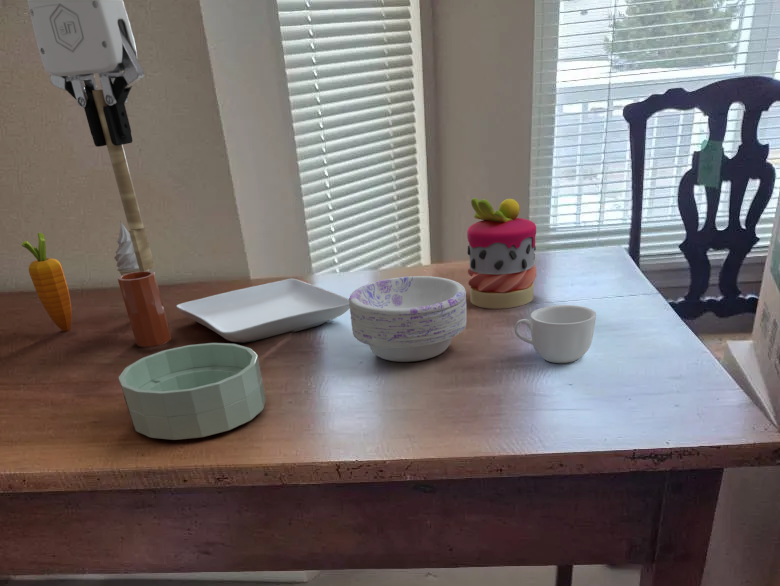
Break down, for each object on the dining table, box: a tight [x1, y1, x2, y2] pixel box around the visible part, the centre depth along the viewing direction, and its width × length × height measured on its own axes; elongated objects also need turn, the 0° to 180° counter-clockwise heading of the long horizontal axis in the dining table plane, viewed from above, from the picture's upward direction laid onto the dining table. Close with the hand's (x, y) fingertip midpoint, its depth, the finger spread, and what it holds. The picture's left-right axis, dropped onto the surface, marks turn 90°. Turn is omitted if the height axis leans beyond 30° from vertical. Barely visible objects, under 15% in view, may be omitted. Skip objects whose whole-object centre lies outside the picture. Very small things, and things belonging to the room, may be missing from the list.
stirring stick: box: [92, 88, 155, 272], centre depth 89 cm, size 2×2×20 cm
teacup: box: [514, 304, 597, 364], centre depth 91 cm, size 10×8×5 cm
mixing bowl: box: [117, 342, 267, 441], centre depth 84 cm, size 15×15×6 cm
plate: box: [175, 278, 350, 343], centre depth 113 cm, size 21×21×3 cm
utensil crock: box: [117, 270, 172, 348], centre depth 106 cm, size 5×5×10 cm
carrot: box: [21, 232, 73, 332], centre depth 113 cm, size 5×5×15 cm
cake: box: [466, 197, 537, 310], centre depth 111 cm, size 10×10×15 cm
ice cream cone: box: [114, 221, 150, 276], centre depth 117 cm, size 5×5×15 cm
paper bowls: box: [348, 275, 468, 363], centre depth 96 cm, size 15×15×8 cm
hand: (114, 143), depth 87 cm, fingers closed on stirring stick, 1 cm apart
